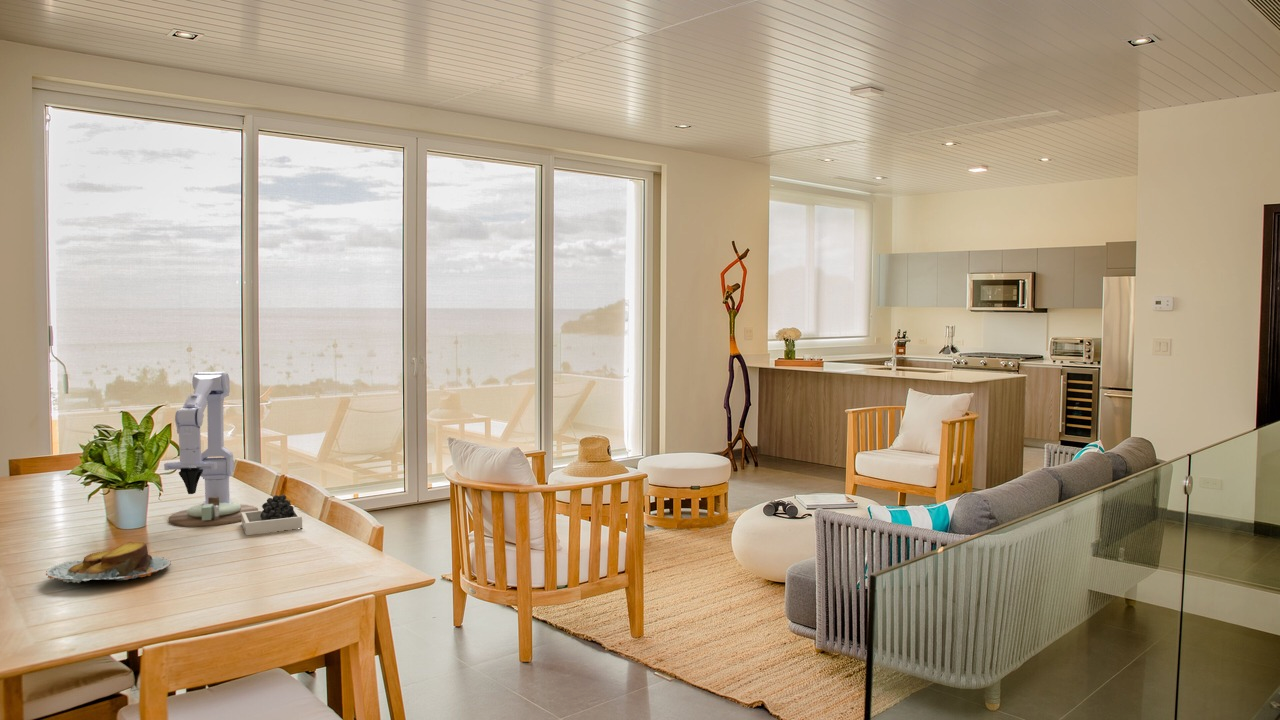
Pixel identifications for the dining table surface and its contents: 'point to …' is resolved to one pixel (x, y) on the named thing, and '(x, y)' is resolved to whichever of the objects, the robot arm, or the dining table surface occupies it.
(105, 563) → the food on plate
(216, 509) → the dowel
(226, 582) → the dining table surface
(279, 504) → the fruit
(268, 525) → the fruit frame
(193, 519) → the base board
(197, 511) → the flange plate
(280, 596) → the dining table surface
